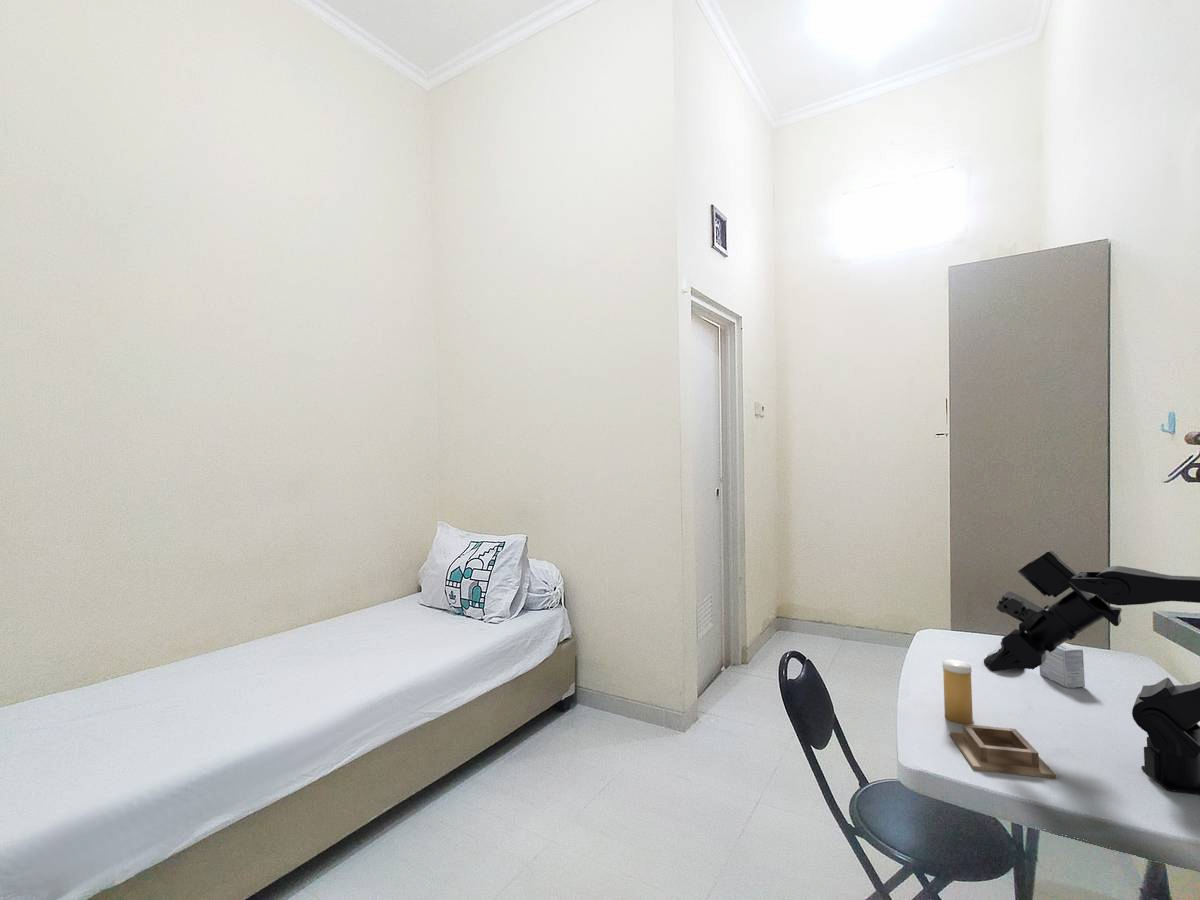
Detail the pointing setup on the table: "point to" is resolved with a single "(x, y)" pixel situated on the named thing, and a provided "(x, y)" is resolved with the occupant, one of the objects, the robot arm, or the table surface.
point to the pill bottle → (957, 691)
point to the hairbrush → (993, 656)
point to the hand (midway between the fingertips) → (996, 662)
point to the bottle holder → (1000, 751)
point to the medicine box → (1064, 666)
